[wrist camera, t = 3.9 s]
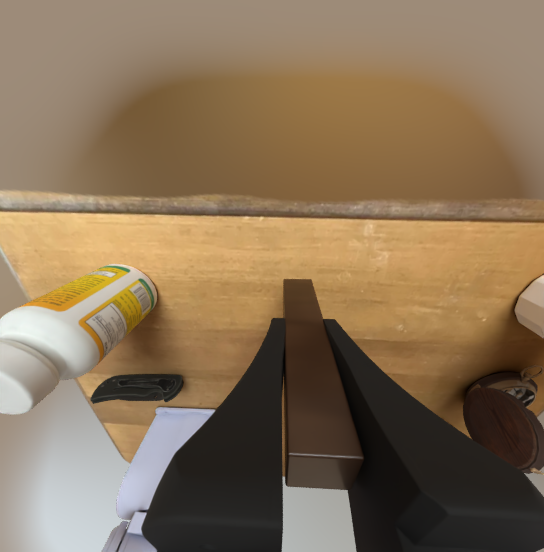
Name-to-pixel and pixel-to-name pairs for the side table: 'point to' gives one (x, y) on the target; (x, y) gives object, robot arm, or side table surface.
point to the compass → (506, 418)
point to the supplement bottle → (68, 332)
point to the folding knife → (139, 388)
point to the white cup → (532, 307)
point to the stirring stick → (314, 399)
